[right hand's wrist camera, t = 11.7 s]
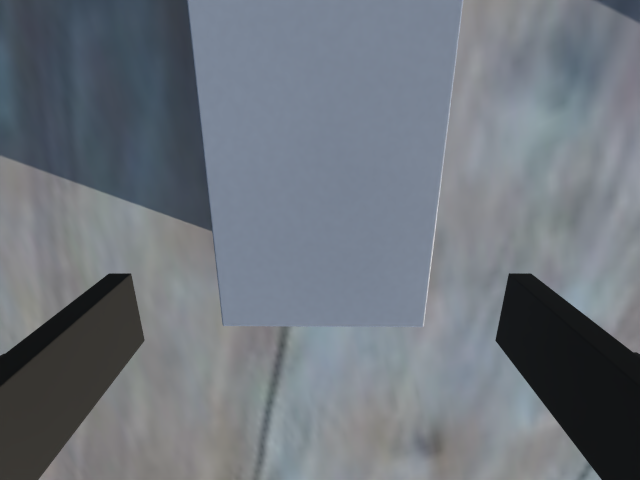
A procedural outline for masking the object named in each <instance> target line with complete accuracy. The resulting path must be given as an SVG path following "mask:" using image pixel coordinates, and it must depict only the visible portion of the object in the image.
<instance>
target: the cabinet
mask: <svg viewBox="0 0 640 480" xmlns="http://www.w3.org/2000/svg"><path fill="white" fill-rule="evenodd" d="M187 5H188V14H189V23H190V32H191V41H192V50H193V59H194V68H195V77H196V86H197V95H198V105H199V114H200V123H201V132H202V141H203V150H204V159H205V168H206V177H207V186H208V195H209V204H210V214H211V223H212V232H213V241H214V250H215V259H216V268H217V277H218V286H219V295H220V304H221V313H222V323H223V326H347V327H423V326H424V319H425V311H426V302H427V294H428V286H429V278H430V270H431V261H432V253H433V245H434V237H435V228H436V220H437V212H438V204H439V196H440V187H441V179H442V171H443V163H444V154H445V146H446V138H447V130H448V122H449V113H450V105H451V97H452V89H453V80H454V72H455V64H456V56H457V48H458V39H459V31H460V23H461V15H462V6H463V0H187Z"/></svg>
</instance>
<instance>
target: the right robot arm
mask: <svg viewBox="0 0 640 480" xmlns="http://www.w3.org/2000/svg"><path fill="white" fill-rule="evenodd" d="M143 342H144V336H143V331H142V326H141V321H140V316H139V311H138V306H137V301H136V296H135V291H134V286H133V281H132V276H131V274H108V275H107V276H105V277H104V278H103V279H101V280H100V281H99V282H98V283H96V284H95V285H94V286H92V287H91V288H90V289H88V290H87V291H86V292H85V293H83V294H82V295H81V296H79V297H78V298H77V299H76V300H74V301H73V302H72V303H70V304H69V305H68V306H66V307H65V308H64V309H63V310H61V311H60V312H59V313H57V314H56V315H55V316H54V317H52V318H51V319H50V320H48V321H47V322H46V323H44V324H43V325H42V326H41V327H39V328H38V329H37V330H35V331H34V332H33V333H32V334H30V335H29V336H28V337H26V338H25V339H24V340H22V341H21V342H20V343H19V344H17V345H16V346H15V347H13V348H12V349H11V350H10V351H8V352H7V353H6V354H3V355H1V356H0V480H38V479H39V478H40V477H41V475H42V474H43V473H44V471H45V470H46V469H47V468H48V466H49V465H50V464H51V462H52V461H53V460H54V458H55V457H56V456H57V454H58V453H59V452H60V451H61V449H62V448H63V447H64V445H65V444H66V443H67V441H68V440H69V439H70V437H71V436H72V435H73V433H74V432H75V431H76V430H77V428H78V427H79V426H80V424H81V423H82V422H83V420H84V419H85V418H86V416H87V415H88V414H89V413H90V411H91V410H92V409H93V407H94V406H95V405H96V403H97V402H98V401H99V399H100V398H101V397H102V396H103V394H104V393H105V392H106V390H107V389H108V388H109V386H110V385H111V384H112V382H113V381H114V380H115V378H116V377H117V376H118V375H119V373H120V372H121V371H122V369H123V368H124V367H125V365H126V364H127V363H128V361H129V360H130V359H131V358H132V356H133V355H134V354H135V352H136V351H137V350H138V348H139V347H140V346H141V344H142V343H143ZM496 342H497V343H498V344H499V346H500V347H501V348H502V350H503V351H504V352H505V354H506V355H507V356H508V358H509V359H510V360H511V361H512V363H513V364H514V365H515V367H516V368H517V369H518V371H519V372H520V373H521V375H522V376H523V377H524V378H525V380H526V381H527V382H528V384H529V385H530V386H531V388H532V389H533V390H534V392H535V393H536V394H537V396H538V397H539V398H540V399H541V401H542V402H543V403H544V405H545V406H546V407H547V409H548V410H549V411H550V413H551V414H552V415H553V416H554V418H555V419H556V420H557V422H558V423H559V424H560V426H561V427H562V428H563V430H564V431H565V432H566V434H567V435H568V436H569V437H570V439H571V440H572V441H573V443H574V444H575V445H576V447H577V448H578V449H579V451H580V452H581V453H582V454H583V456H584V457H585V458H586V460H587V461H588V462H589V464H590V465H591V466H592V468H593V469H594V470H595V471H596V473H597V474H598V475H599V477H600V478H601V479H602V480H640V354H638V353H633V352H632V351H630V350H629V349H628V348H627V347H625V346H624V345H623V344H621V343H620V342H619V341H618V340H616V339H615V338H614V337H612V336H611V335H610V334H608V333H607V332H606V331H605V330H603V329H602V328H601V327H599V326H598V325H597V324H596V323H594V322H593V321H592V320H590V319H589V318H588V317H586V316H585V315H584V314H583V313H581V312H580V311H579V310H577V309H576V308H575V307H574V306H572V305H571V304H570V303H568V302H567V301H566V300H564V299H563V298H562V297H561V296H559V295H558V294H557V293H555V292H554V291H553V290H552V289H550V288H549V287H548V286H546V285H545V284H544V283H542V282H541V281H540V280H539V279H537V278H536V277H535V276H533V275H532V274H509V276H508V281H507V286H506V291H505V296H504V301H503V306H502V311H501V316H500V321H499V326H498V331H497V336H496Z"/></svg>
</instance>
